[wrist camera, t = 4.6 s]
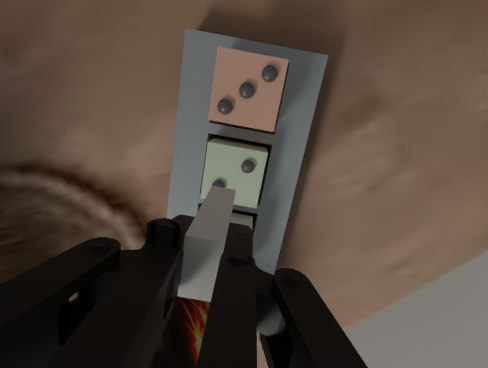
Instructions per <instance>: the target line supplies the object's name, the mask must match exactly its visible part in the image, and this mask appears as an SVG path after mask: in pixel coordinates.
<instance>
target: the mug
mask: <svg viewBox="0 0 488 368" xmlns="http://www.w3.org/2000/svg"><path fill="white" fill-rule="evenodd" d="M177 294H178V289H177V291H176V294H175V299H174V306H173V309H172V311H171V314H170V316H169V319H168V321H167V324H166V326H165V329H164V331H163V334H162V336H161V338H160V341H159V343H158V346H157V348H156V351H155V353H154V356H153V358H152V361H151V363H150V366H149V368H196V365H197V360H198V356H199V351H200V347H201V342H202V338H203V333H204V329H205V325H206V320H207V316H208V311H209V307H210V302H208V301H202V300H196V299H190V298H185V297H179V296H177Z"/></svg>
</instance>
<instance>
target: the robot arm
mask: <svg viewBox="0 0 488 368" xmlns="http://www.w3.org/2000/svg"><path fill="white" fill-rule="evenodd" d="M235 193H236V190H234V189H228V188H223V187H217V186H212V187H211V189H210V191H209V192H208V194H207V196H206V198H205V200H204V201H203V203H202V205H201V207H200V209H199V211H198V212H197V214H196V216H195V217H193V216H188V215H182V214H180V215H178V216H176V217H174V218H173V219H167V218H160V219H154V220H151V221H150V222H148V223H147V232H146V243H145V244H144V246H143V247H142V248H141V249H138V250H121V244H120V243H119V241H117V240H115V239H112V238H107V237H104V238H103V237H98V238H94V239H90V240H87V241H85V242H83V243H81V244H79V245H77V246H75V247H73V248H71V249H69V250H67V251H65V252H63V253H61V254H59V255H57V256H55V257H53V258H51V259H49V260H47V261H45V262H43V263H41V264H40V265H38V266H36V267H34V268H32V269H30V270H28V271H26V272H24V273H22V274H20V275H18V276H16V277H14V278H12V279H10V280H8V281H6V282H4V283H2V284H0V368H149V366H150V363H151V361H152V358H153V356H154V353H155V351H156V348H157V346H158V343H159V341H160V338H161V336H162V334H163V331H164V329H165V326H166V324H167V321H168V319H169V316H170V314H171V311H172V309H173V306H174V299H175V294H176V291H177V289H178V294H177V296H179V297H185V298H190V299H196V300H202V301H208V302H210V307H209V311H208V316H207V320H206V325H205V329H204V333H203V338H202V342H201V347H200V351H199V356H198V360H197V365H196V368H257V336H256V331H257V332H259V333H260V341H261V344H262V347H263V351H264V354H265V358H266V361H267V364H268V368H368V367H367V366H366V364H365V363H364V361H363V360H362V358H361V357H360V355H359V354H358V352H357V351H356V350H355V348H354V346H353V345H352V343H351V342H350V340H349V339H348V337H347V336H346V334H345V333H344V331H343V330H342V328H341V327H340V325H339V324H338V322H337V321H336V319H335V318H334V316H333V315H332V313H331V312H330V310H329V309H328V307H327V306H326V304H325V303H324V301H323V300H322V298H321V297H320V295H319V294H318V292H317V291H316V289H315V288H314V286H313V285H312V283H311V282H310V280H309V279H308V278H307V277H306V276H305V275H304V274H302V273H301V272H299V271H297V270H294V269H289V268H281V269H278V270H277V271H275V273H274V275H272V274H270V273H267V272H265V271H263V270H261V269H260V268H258V267H257V266H256V265H255V259H254V257H253V231H252V229H251V228H250V227H249V226H248V225H242V224H237V223H231V222H230V221H231V215H232V209H233V204H234V198H235ZM75 293H77V298H75V299H74V300H72V301H70V302H69V298H70V297H71V296H73V295H74V294H75Z"/></svg>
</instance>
